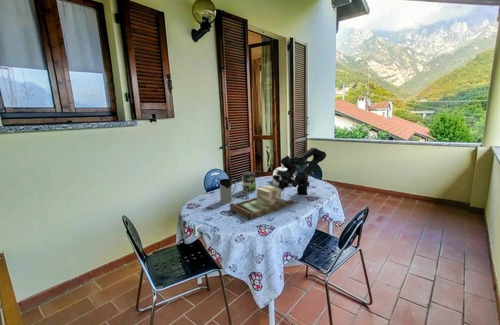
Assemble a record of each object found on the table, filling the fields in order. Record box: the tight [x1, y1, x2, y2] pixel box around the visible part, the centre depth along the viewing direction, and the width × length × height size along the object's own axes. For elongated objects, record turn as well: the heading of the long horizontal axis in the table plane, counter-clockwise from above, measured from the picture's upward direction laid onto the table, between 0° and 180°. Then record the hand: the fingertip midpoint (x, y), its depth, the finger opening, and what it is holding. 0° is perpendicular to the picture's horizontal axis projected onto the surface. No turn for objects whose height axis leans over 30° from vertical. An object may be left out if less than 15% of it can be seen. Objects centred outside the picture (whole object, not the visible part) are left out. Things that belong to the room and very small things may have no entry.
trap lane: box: [229, 196, 295, 221], centre depth 158 cm, size 36×20×4 cm, turn 126°
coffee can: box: [241, 171, 257, 194], centre depth 190 cm, size 10×10×14 cm
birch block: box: [256, 184, 282, 206], centre depth 160 cm, size 11×11×9 cm
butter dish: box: [272, 164, 295, 186], centre depth 208 cm, size 18×18×16 cm
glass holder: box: [219, 178, 237, 204], centre depth 171 cm, size 9×14×15 cm, turn 137°
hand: (278, 191), depth 164 cm, fingers closed
